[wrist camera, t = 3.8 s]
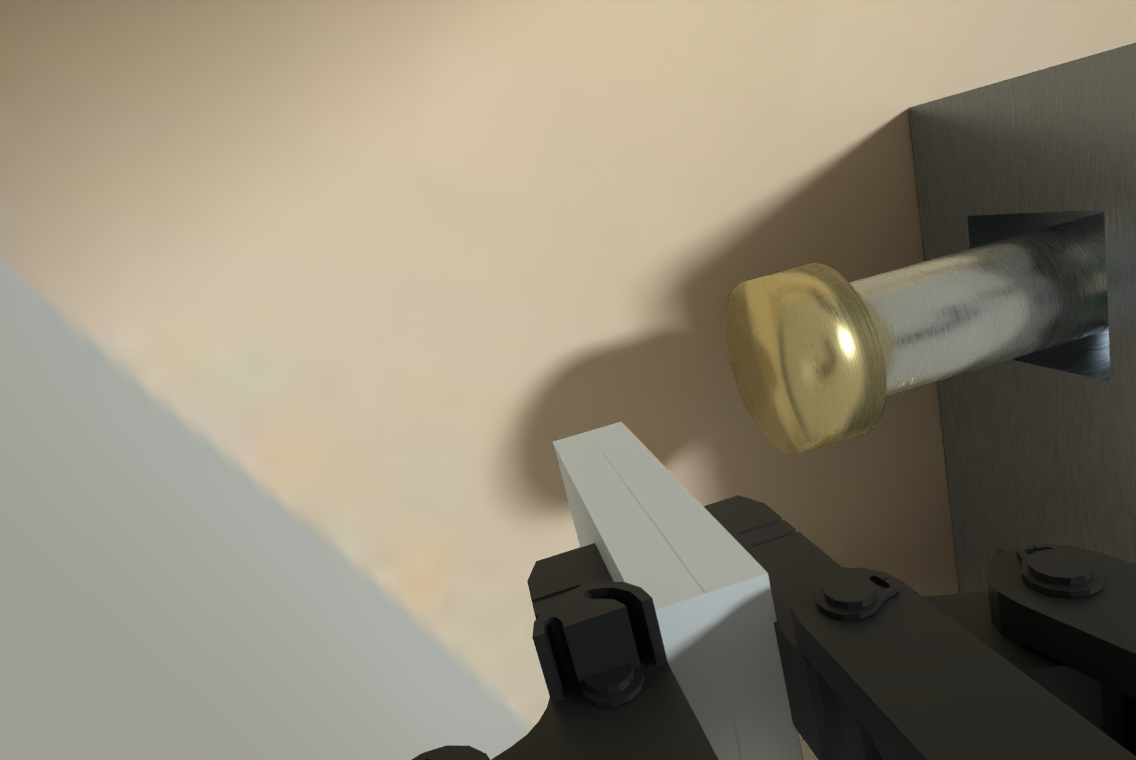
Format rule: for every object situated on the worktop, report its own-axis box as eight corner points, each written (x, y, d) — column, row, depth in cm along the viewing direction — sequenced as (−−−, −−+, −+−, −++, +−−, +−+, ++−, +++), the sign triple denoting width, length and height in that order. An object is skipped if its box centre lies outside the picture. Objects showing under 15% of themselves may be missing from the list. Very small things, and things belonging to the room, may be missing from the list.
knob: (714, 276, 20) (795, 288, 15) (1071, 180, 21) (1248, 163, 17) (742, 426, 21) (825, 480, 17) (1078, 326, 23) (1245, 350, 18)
